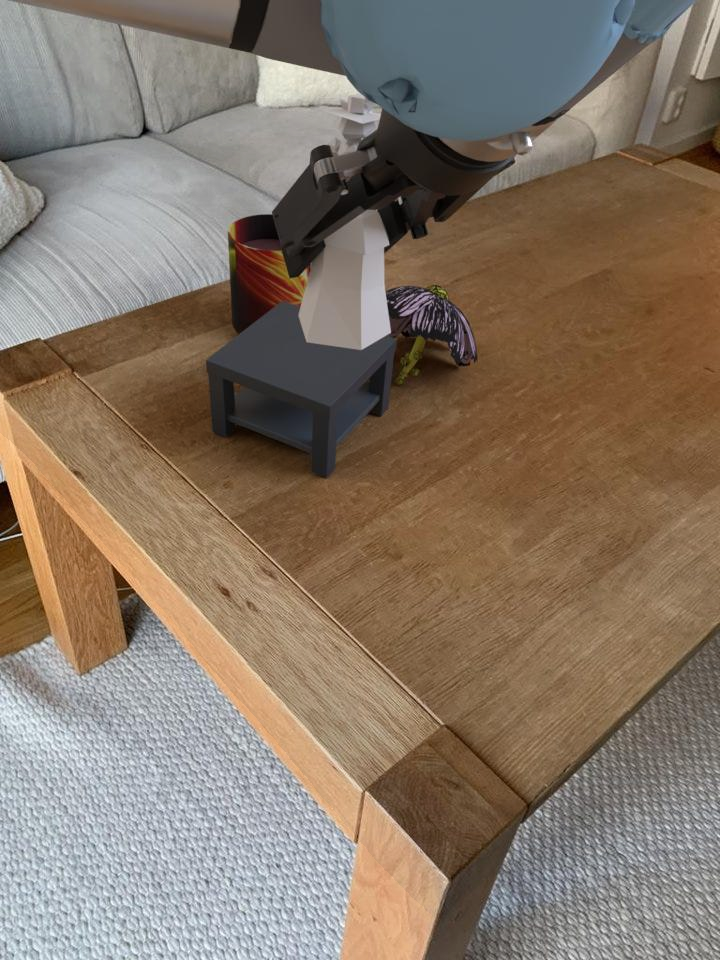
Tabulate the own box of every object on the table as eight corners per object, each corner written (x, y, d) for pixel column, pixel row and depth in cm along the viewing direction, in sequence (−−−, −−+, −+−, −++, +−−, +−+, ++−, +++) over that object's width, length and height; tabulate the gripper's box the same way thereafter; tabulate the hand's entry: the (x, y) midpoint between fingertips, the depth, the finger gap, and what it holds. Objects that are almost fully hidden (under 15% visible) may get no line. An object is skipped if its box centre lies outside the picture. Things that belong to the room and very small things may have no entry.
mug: (350, 318, 105) (356, 229, 97) (261, 351, 98) (259, 258, 90) (304, 287, 110) (306, 200, 102) (217, 317, 103) (211, 226, 95)
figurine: (407, 321, 66) (433, 83, 54) (344, 362, 61) (356, 109, 49) (340, 292, 69) (350, 60, 57) (275, 328, 64) (270, 82, 52)
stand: (210, 432, 86) (205, 359, 80) (282, 369, 95) (282, 300, 89) (326, 479, 81) (330, 406, 75) (389, 408, 91) (397, 338, 85)
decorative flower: (522, 300, 91) (417, 290, 82) (500, 402, 94) (397, 401, 86) (440, 279, 102) (340, 267, 93) (423, 370, 106) (325, 367, 97)
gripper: (330, 190, 40) (227, 322, 61) (628, 148, 47) (442, 279, 68) (287, 41, 40) (199, 225, 61) (592, 22, 47) (417, 193, 68)
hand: (328, 253), depth 65 cm, fingers closed on figurine, 6 cm apart
